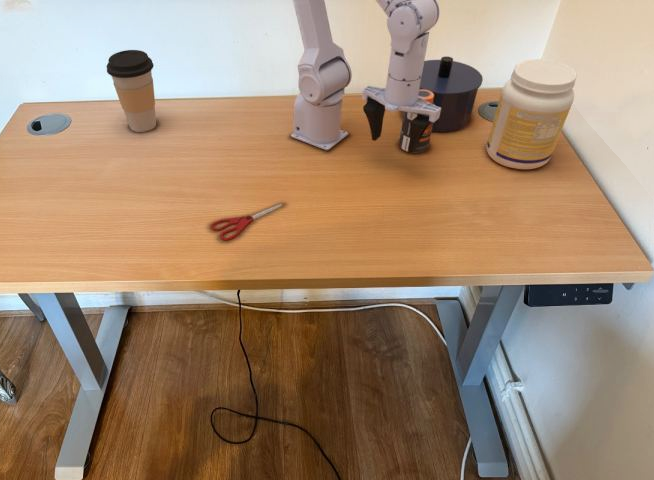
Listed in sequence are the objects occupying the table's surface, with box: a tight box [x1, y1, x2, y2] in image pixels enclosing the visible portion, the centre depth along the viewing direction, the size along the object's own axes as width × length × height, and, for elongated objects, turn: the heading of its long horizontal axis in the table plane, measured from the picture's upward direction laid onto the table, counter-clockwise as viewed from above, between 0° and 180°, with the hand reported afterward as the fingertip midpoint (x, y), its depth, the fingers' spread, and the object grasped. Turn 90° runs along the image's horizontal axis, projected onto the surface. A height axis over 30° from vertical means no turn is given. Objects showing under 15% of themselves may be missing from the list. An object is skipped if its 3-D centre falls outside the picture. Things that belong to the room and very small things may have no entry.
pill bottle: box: [398, 90, 435, 154], centre depth 105 cm, size 6×6×11 cm
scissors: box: [210, 203, 283, 242], centre depth 94 cm, size 5×14×1 cm, turn 124°
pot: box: [401, 88, 479, 134], centre depth 115 cm, size 15×15×8 cm
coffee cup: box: [106, 49, 157, 133], centre depth 113 cm, size 9×9×15 cm
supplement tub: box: [485, 58, 578, 170], centre depth 100 cm, size 12×12×17 cm
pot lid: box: [419, 56, 484, 95], centre depth 110 cm, size 16×16×5 cm
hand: (393, 144), depth 101 cm, fingers open, 7 cm apart
